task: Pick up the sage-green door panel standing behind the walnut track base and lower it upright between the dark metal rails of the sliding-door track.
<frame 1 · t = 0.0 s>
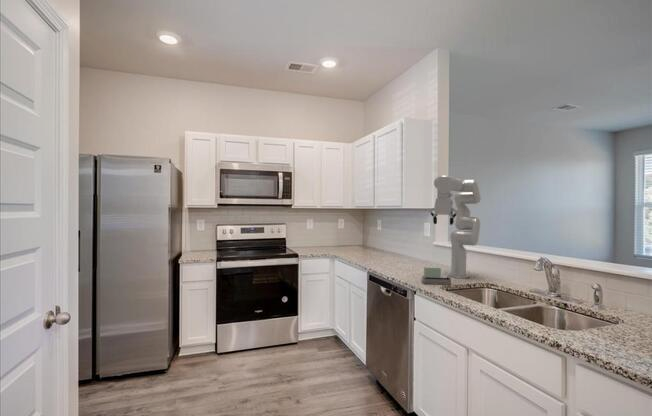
hand: (443, 224, 199), 37 cm above the worktop, tool pointing down, fingers open, 9 cm apart
door track: (436, 283, 203), on the worktop
door panel: (432, 279, 213), on the worktop
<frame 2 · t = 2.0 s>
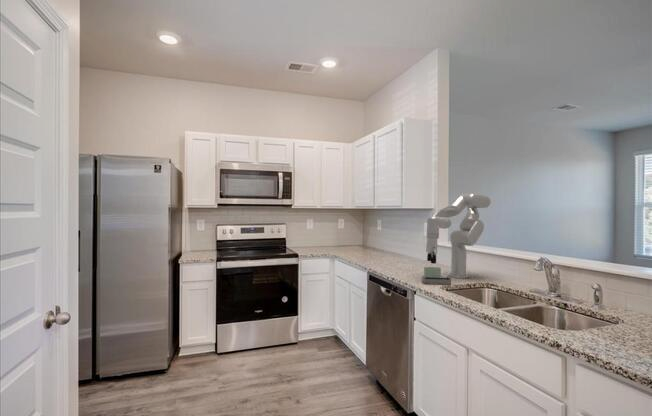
hand: (431, 262, 213), 11 cm above the worktop, tool pointing down, fingers open, 9 cm apart
nothing on the worktop moved.
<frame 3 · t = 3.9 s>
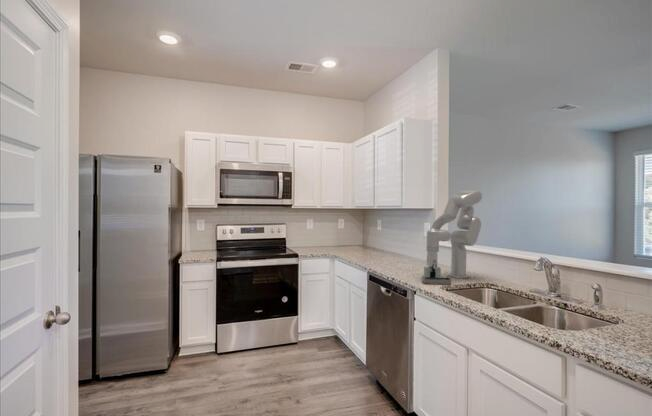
hand: (432, 276, 213), 2 cm above the worktop, tool pointing down, fingers closed on door panel, 3 cm apart
door panel: (432, 279, 213), on the worktop, touching gripper
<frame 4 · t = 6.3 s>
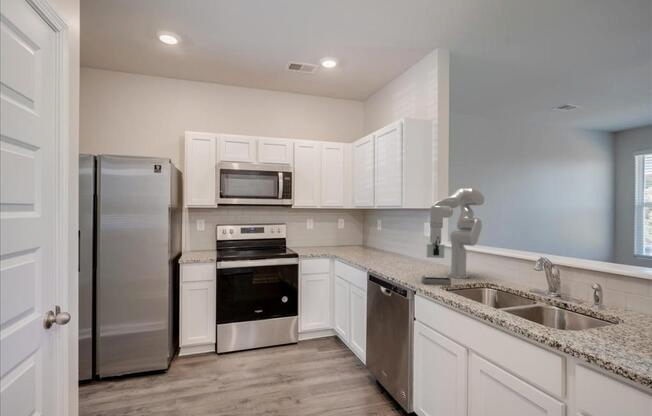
hand: (435, 254, 204), 18 cm above the worktop, tool pointing down, fingers closed on door panel, 3 cm apart
door panel: (435, 257, 204), point 16 cm above the worktop, touching gripper
when the fingers open (4 cm above the worktop, at t = 8.6 s): door panel drops 1 cm, resting on door track.
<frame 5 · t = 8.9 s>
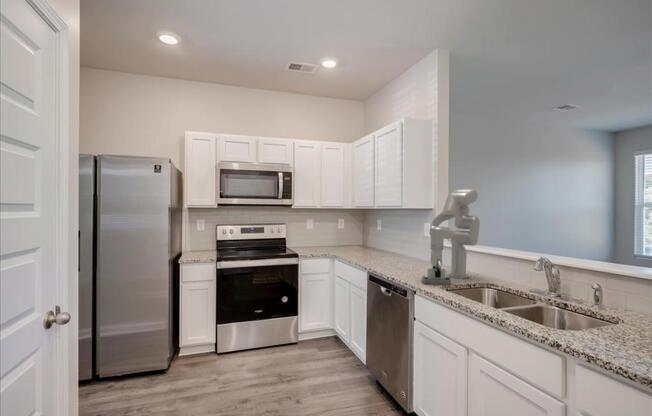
hand: (436, 276, 203), 5 cm above the worktop, tool pointing down, fingers open, 6 cm apart
door panel: (436, 281, 203), point 1 cm above the worktop, touching door track
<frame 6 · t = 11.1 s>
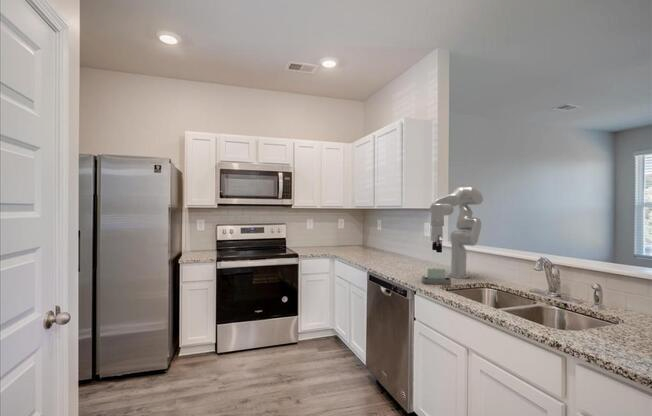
hand: (436, 251, 203), 20 cm above the worktop, tool pointing down, fingers open, 9 cm apart
nothing on the worktop moved.
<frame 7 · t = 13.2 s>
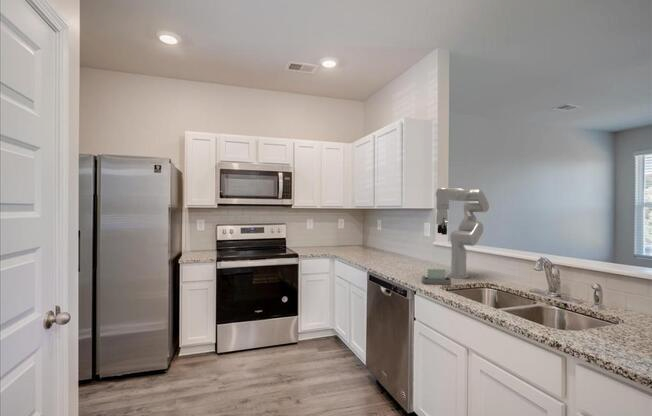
hand: (442, 233, 209), 30 cm above the worktop, tool pointing down, fingers open, 9 cm apart
nothing on the worktop moved.
at the end: door panel inside the target area on the door track (0.1 cm from its centre), point 1.0 cm above the door track's base; door panel tilted 0°; the gripper is holding nothing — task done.
